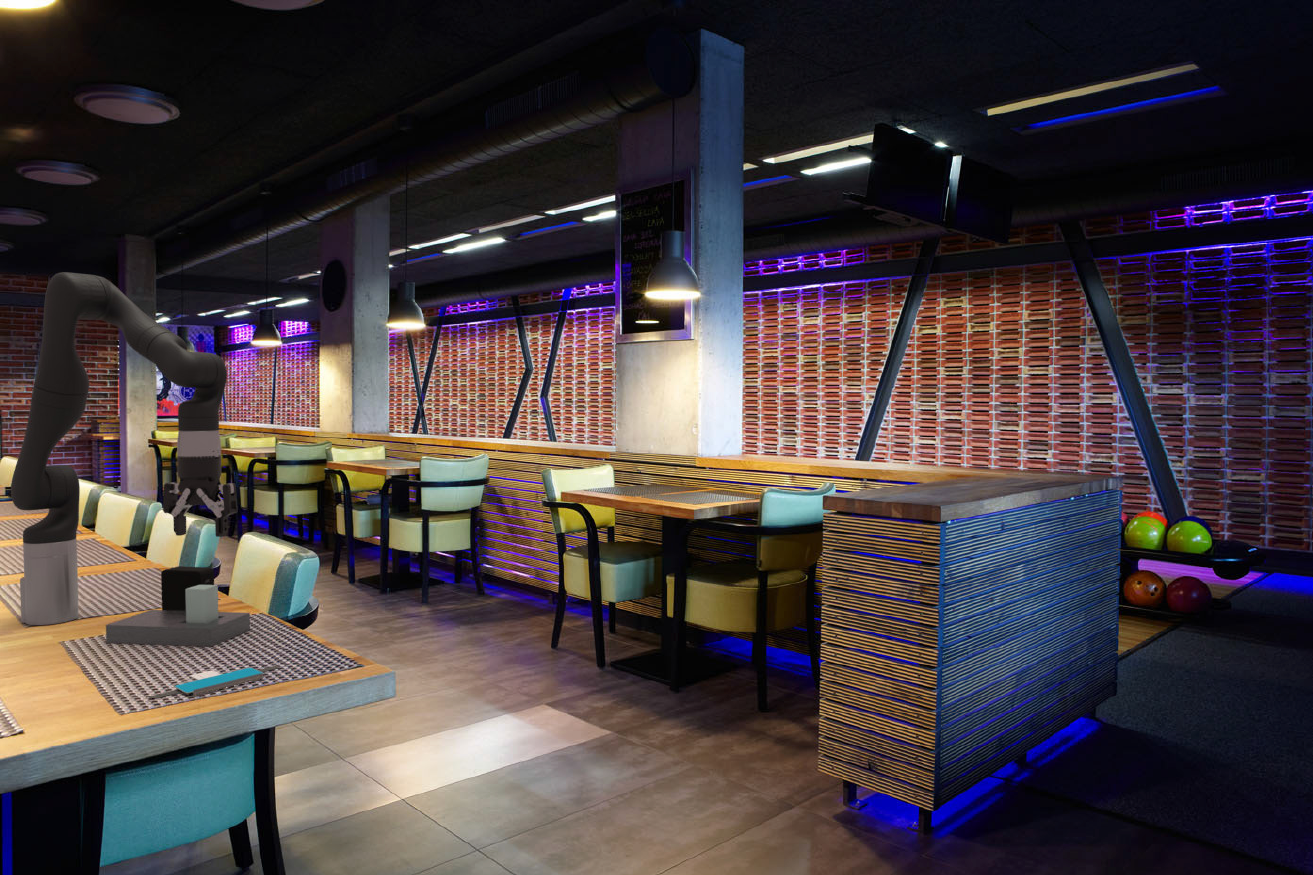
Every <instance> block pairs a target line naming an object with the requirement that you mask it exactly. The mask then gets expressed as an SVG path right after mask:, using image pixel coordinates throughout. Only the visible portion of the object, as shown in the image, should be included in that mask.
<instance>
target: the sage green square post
mask: <svg viewBox="0 0 1313 875" xmlns="http://www.w3.org/2000/svg"><path fill="white" fill-rule="evenodd" d="M185 592H186V623H203V624H207V623H209V622H212V621H214V620H217V619H219V618H218V612H219V585H218V584H214V585H197V586H194V587H190V588H187V589H185Z"/></svg>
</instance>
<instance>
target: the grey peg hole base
mask: <svg viewBox="0 0 1313 875" xmlns="http://www.w3.org/2000/svg"><path fill="white" fill-rule="evenodd" d="M250 615H251V613H250V612H236V611H235V612H233V611H231V612H229V611H218V618H219V619H217V620H214V621H212V622H209V623H207V624H203V623H186V611H174V610H162V609H150V610H147V611H144V612H141V613H138V614H135V615H132V616H130V617H129V616H128V617H125V618H122V619H119V620H117V621H114V622H110V623H107V624H105V637H106V638H105V641H106V642H105V643H106V644H127V645H128V644H130V645H150V646H151V645H153V646H154V645H155V646H157V645H158V646H180V647H204V648H205V647H210V648H211V647H214V646H216V645H219V644H221V643H223V642H225V641H228V640H229V639H233V638H235V637H237V636H239V635H242V634H243V633H245V632H249V631H250V630H251V619H250V618H251V616H250Z"/></svg>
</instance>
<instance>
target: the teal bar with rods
mask: <svg viewBox="0 0 1313 875" xmlns="http://www.w3.org/2000/svg"><path fill="white" fill-rule="evenodd" d="M279 668H280V666H277V665H273V666H270V667H266V668H260V669H255V668H254V667H247V668H242V669H238V670H233V671H229V672H226V673H222V674H220V673H219V672H217V671H215V670H208V671H204V672H203V671H202V672H199V673H195V674H190V675H189V677H190V678H192V679H194V680H193V681H188V682H184V683H180V684H177V685H176V684H175V685H174V688H176V689H175V690H172V691H171V690H170V691H166V692H163V693H159V694H156V695H151V696H149V698H150V699H152V698H155V699H159V698H163V697H167V696H168V697H169V696H173V695H177V694H180V695H182V696H183V695H186V694H187V695H188V696H192V694H193V698H196V697H200V696H203V694H204V695H206V693H207V694H210V693H209V692H211V693H214V692H213V691H215V692H217V691H216V690H219V689H222V688H226V687H230V686H234V685H238V684H242V683H245V682H249V681H255V682H258V681H257V680H259V681H261V680H260V679H262V680H263V679H264V678H263V677H264V673H267V672H268V671H272V670H275V669H279ZM219 691H220V690H219Z"/></svg>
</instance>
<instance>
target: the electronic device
mask: <svg viewBox="0 0 1313 875" xmlns="http://www.w3.org/2000/svg"><path fill="white" fill-rule="evenodd" d="M214 571H215V570H214V569H213V568H212V567H207V566H205V567H203V566H202V567H201V566H179V565H177V566H175V567H173V566H172V567H169V568H165V569H162V571H161V572H160V577H161V578H160V583H161V610H174V611H186V592H185V589H187V588H190V587H194V586H197V585H215V572H214Z"/></svg>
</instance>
